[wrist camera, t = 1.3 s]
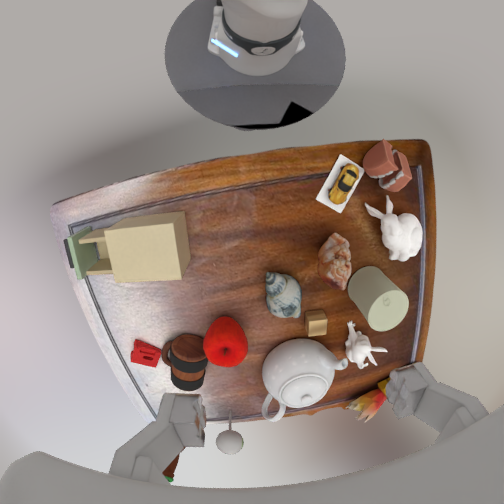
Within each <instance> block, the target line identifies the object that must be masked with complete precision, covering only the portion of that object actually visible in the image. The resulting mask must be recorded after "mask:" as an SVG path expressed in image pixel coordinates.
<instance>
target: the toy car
mask: <svg viewBox="0 0 504 504" xmlns="http://www.w3.org/2000/svg"><path fill="white" fill-rule="evenodd" d="M363 173H364V169H363V168H361V167H360V166H358V165H357V164H355V163H354V162H352V161H351V160H349V159H348V158H346V157H344V156H343V155H341V154H340V156H339V158H338V160H337V161H336V163H335V165H334V167H333V169H332V171H331V172H330V174H329V176H328V178H327V180H326V181H325V183H324V185H323V187H322V189H321V190H320V192H319V194H318V196H317V198H316V200H318V201H320V202H321V203H323V204H325V205H327V206H329V207H330V208H332V209H334V210H336V211H337V212H339V213H341V212H342V211H343V209H344V207H345V205H346V204H347V202H348V200H349V198H350V197H351V195H352V193H353V191H354V189H355V188H356V186H357V184H358V182H359V180H360V179H361V177H362V175H363Z"/></svg>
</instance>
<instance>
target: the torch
mask: <svg viewBox="0 0 504 504" xmlns="http://www.w3.org/2000/svg"><path fill="white" fill-rule="evenodd" d="M413 364H415V363H413ZM390 380H391V378H390V377H389V378H388V379H386V380H383V381H381V382H379V383H378V387H379V389H375V390H372V391H370V392H368V393H366V394H364V395H362V396H361V397H359V398H358V399H356V400H354V401H353V402H351V403H349V405H348V406H347V407H349V409H352V410H357V411H362V410H363V411H362V413H360V414H359V415H358V416H357V417H356V419H357V420H361V419H362V418H364V417H366V416H367V417H366V420H365V422H366V421H368V420H369V419H370V418H372V417H373V416H374V415H375V414H376V412H377V411H378V409H379V408H380V406H381V405H382V404H383V402H384V401H385V400H386V399H387V397H386V385H387V383H388V382H389V381H390ZM347 407H346V408H347ZM365 422H364V423H365Z"/></svg>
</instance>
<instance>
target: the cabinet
mask: <svg viewBox="0 0 504 504" xmlns="http://www.w3.org/2000/svg"><path fill="white" fill-rule="evenodd" d="M104 234H105V239H106V244H107V249H108V253H109V258H110V262H111V266H112V270H113V274H114V278H115V282H116V283H124V282H144V281H163V280H180V279H182V278H183V275H184V273H185V271H186V269H187V266H188V264H189V262H190V260H191V255H190V248H189V241H188V233H187V226H186V218H185V211H180V212H170V213H161V214H152V215H144V216H136V217H128V218H124V219H122V220H121V221H119V222H117V223H116V224H114V225H112V226H111V227H109V228H108V229H106V230H104Z"/></svg>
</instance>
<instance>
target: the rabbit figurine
mask: <svg viewBox="0 0 504 504" xmlns="http://www.w3.org/2000/svg"><path fill="white" fill-rule="evenodd" d="M347 324H348V328H349V335H348V340H347V341H346V342H345V344H346V355H347V357H348V359H349V360H350V361H351V362H355V363H357V364H358V367H359V368H360V369H362V368H364V366H368V363H366V364H363V361H364V360H365V357H367V356H368V358H369V360H370V361H371V362H372V363H373V364H375V365H376V366H377V364H376V362H375V360H374V358H373V356H372V355H371V353H370V351H377V352H388V351H387V350H386V349H385V348H382V347H371V345H370V342H369V339H368V337H367V336H365V335H362V334H361V332H360V331H358V332H355V330H354V328H353V327H354V326H355V323H354V324H352V321H351V322H350V321H349V323H348V322H347Z"/></svg>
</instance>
